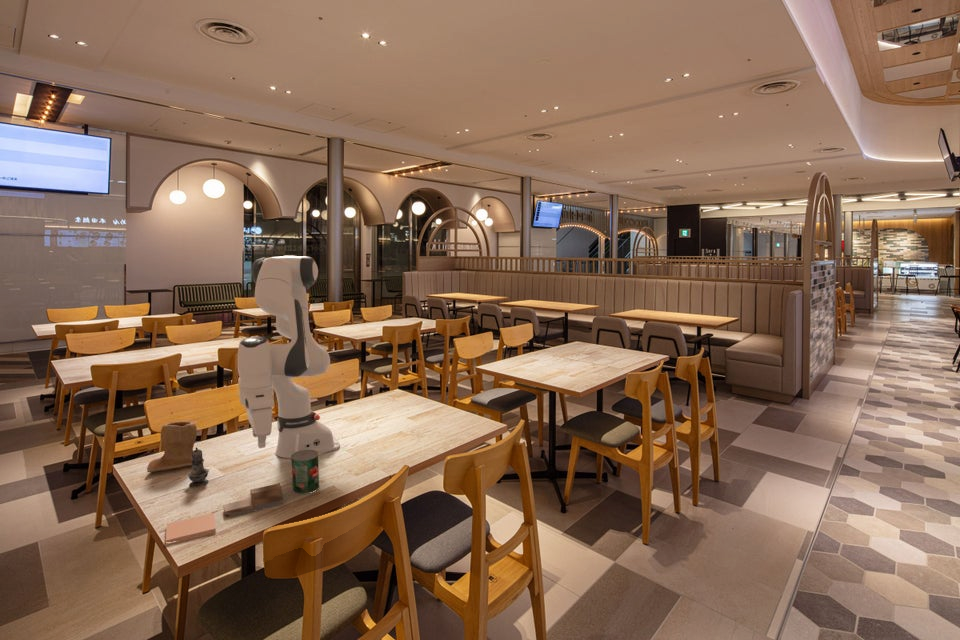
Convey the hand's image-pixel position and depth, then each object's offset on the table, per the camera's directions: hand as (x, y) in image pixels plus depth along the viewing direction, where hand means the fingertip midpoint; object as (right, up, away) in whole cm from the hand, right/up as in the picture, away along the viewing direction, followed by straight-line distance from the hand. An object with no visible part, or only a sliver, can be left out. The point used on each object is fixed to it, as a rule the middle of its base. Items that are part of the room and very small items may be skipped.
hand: (259, 441), depth 139 cm
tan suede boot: (-41, -15, +27) cm, 52 cm away
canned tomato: (+9, -18, +12) cm, 24 cm away
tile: (-8, -20, -9) cm, 23 cm away
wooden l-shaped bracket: (-2, -18, +1) cm, 19 cm away
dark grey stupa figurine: (-26, -17, +15) cm, 34 cm away
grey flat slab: (-2, -19, +1) cm, 19 cm away
